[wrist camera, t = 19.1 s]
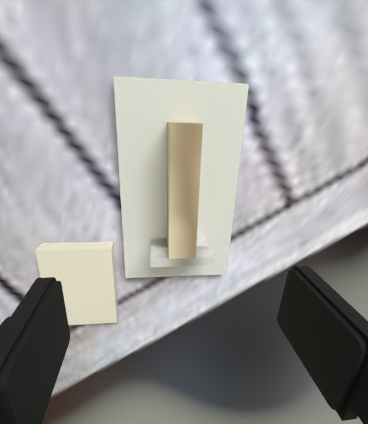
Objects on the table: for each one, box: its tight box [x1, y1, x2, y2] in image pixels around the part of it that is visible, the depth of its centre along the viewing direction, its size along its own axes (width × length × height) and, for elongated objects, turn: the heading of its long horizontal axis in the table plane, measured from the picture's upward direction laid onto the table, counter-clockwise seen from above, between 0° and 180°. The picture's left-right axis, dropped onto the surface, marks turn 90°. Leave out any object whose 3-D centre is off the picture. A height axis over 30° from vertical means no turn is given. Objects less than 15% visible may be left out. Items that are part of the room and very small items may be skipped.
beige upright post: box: [150, 122, 213, 267], centre depth 27 cm, size 7×15×5 cm, turn 178°
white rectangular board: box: [113, 76, 249, 278], centre depth 30 cm, size 14×24×2 cm, turn 178°
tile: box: [35, 242, 119, 325], centre depth 33 cm, size 9×2×12 cm
